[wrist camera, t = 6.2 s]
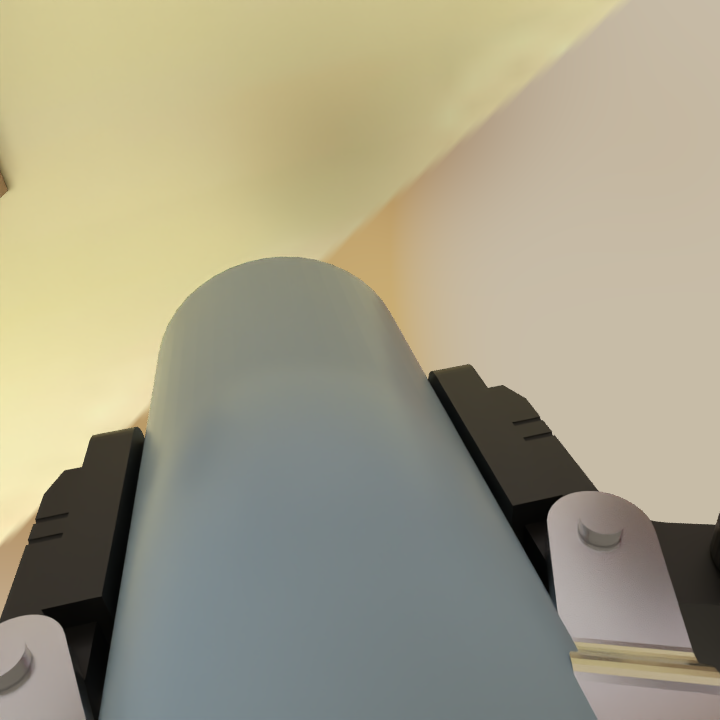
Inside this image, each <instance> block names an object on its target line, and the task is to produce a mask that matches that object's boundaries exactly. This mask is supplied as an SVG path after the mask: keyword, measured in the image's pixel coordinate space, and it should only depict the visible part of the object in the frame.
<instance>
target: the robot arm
mask: <svg viewBox="0 0 720 720" xmlns="http://www.w3.org/2000/svg"><path fill="white" fill-rule="evenodd" d="M428 381H429V382H430V384H431V386H432V388H433V389H434V391H435V393H436V395H437V397H438V398H439V400H440V402H441V404H442V405H443V407H444V409H445V411H446V413H447V414H448V416H449V418H450V420H451V421H452V423H453V425H454V427H455V428H456V430H457V432H458V434H459V436H460V437H461V439H462V441H463V443H464V444H465V446H466V448H467V450H468V451H469V453H470V455H471V457H472V459H473V460H474V462H475V464H476V466H477V467H478V469H479V471H480V473H481V475H482V476H483V478H484V480H485V482H486V483H487V485H488V487H489V489H490V490H491V492H492V494H493V496H494V498H495V499H496V501H497V503H498V505H499V506H500V508H501V510H502V512H503V514H504V515H505V517H506V519H507V521H508V522H509V524H510V526H511V528H512V529H513V531H514V533H515V535H516V537H517V538H518V540H519V542H520V544H521V545H522V547H523V549H524V551H525V553H526V554H527V556H528V558H529V560H530V561H531V563H532V565H533V567H534V568H535V570H536V572H537V574H538V576H539V577H540V579H541V581H542V583H543V584H544V586H545V588H546V590H547V592H548V593H549V595H550V597H551V599H552V600H553V602H554V605H555V607H556V610H557V613H558V615H559V616H560V618H561V620H562V622H563V623H564V625H565V627H566V629H567V631H568V632H569V634H570V636H571V638H572V640H573V641H574V643H575V645H576V647H577V649H578V651H579V652H578V651H570V653H569V655H570V660H571V664H572V668H573V673H574V676H575V678H576V680H577V682H578V683H579V685H580V687H581V689H582V691H583V693H584V695H585V697H586V698H587V700H588V702H589V704H590V706H591V708H592V710H593V712H594V713H595V715H596V717H597V719H598V720H720V514H719V516H718V520H717V523H716V525H708V524H684V523H683V524H682V523H664V522H656V521H651V520H650V519H649V518H648V517H647V515H646V514H645V513H644V512H643V511H642V510H640V509H639V508H638V507H636V506H635V505H634V504H632V503H631V502H629V501H627V500H625V499H623V498H621V497H618V496H615V495H612V494H609V493H603V492H599V491H598V490H597V489H596V487H595V486H594V485H593V483H592V482H591V481H590V480H589V478H588V477H587V476H586V475H585V473H584V472H583V471H582V469H581V468H580V467H579V466H578V464H577V463H576V462H575V461H574V459H573V458H572V457H571V455H570V454H569V453H568V452H567V450H566V449H565V448H564V447H563V445H562V444H561V443H560V441H559V440H558V439H557V438H556V436H553V435H552V431H551V430H550V429H549V427H548V426H547V425H546V424H545V422H544V421H543V420H541V419H540V416H539V415H538V413H537V412H536V411H535V410H534V408H533V407H532V406H531V404H530V403H529V402H528V401H527V399H526V398H524V397H522V396H521V395H519V394H517V393H515V392H514V391H512V390H510V389H508V388H507V387H505V386H503V385H501V386H496V387H491V388H487V386H486V385H485V383H484V382H483V380H482V379H481V378H480V376H479V375H478V374H477V372H476V371H475V369H474V368H473V367H472V366H471V365H468V364H467V365H462V366H457V367H452V368H447V369H442V370H436V371H431V372H430V373H429V378H428ZM144 440H145V438H144V435H143V433H142V431H141V430H140V428H138V427H134V428H128V429H123V430H118V431H113V432H107V433H102V434H97V435H93V436H92V437H91V439H90V441H89V445H88V448H87V452H86V455H85V459H84V462H83V466H82V467H80V468H75V469H70V470H65V471H64V472H63V473H62V474H61V475H60V476H59V477H58V479H57V480H56V481H55V482H54V483H53V484H52V486H51V487H50V488H49V489H48V490H47V491H46V493H45V494H44V496H43V499H42V501H41V504H40V507H39V510H38V513H37V516H36V519H35V520H36V524H33V527H32V530H31V533H30V536H29V539H28V541H29V545H26V547H25V550H24V553H23V555H22V558H21V561H20V564H19V567H18V570H17V573H16V575H15V578H14V581H13V584H12V587H11V590H10V593H9V595H8V599H7V601H6V604H5V607H4V610H3V612H2V615H1V618H0V720H98V718H99V712H100V706H101V700H102V694H103V688H104V682H105V676H106V670H107V664H108V658H109V652H110V646H111V640H112V634H113V628H114V622H115V616H116V609H117V603H118V597H119V591H120V585H121V579H122V573H123V567H124V561H125V555H126V549H127V543H128V537H129V531H130V525H131V519H132V513H133V507H134V501H135V495H136V489H137V483H138V477H139V471H140V465H141V459H142V452H143V446H144Z"/></svg>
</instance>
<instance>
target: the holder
mask: <svg viewBox="0 0 720 720" xmlns="http://www.w3.org/2000/svg"><path fill="white" fill-rule="evenodd" d="M7 191H8V190H7V187H6V184H5V182H4V179H3V177H2V174H1V172H0V197H2V196H3V195H4V194H5V193H6V192H7Z"/></svg>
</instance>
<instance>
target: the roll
mask: <svg viewBox="0 0 720 720" xmlns="http://www.w3.org/2000/svg"><path fill="white" fill-rule="evenodd" d="M570 651H578V649H577V647H576V645H575V643H574V641H573V640H572V638H571V636H570V634H569V632H568V631H567V629H566V627H565V625H564V623H563V622H562V620H561V618H560V616H559V615H558V613H557V610H556V607H555V605H554V602H553V600H552V599H551V597H550V595H549V593H548V592H547V590H546V588H545V586H544V584H543V583H542V581H541V579H540V577H539V576H538V574H537V572H536V570H535V568H534V567H533V565H532V563H531V561H530V560H529V558H528V556H527V554H526V553H525V551H524V549H523V547H522V545H521V544H520V542H519V540H518V538H517V537H516V535H515V533H514V531H513V529H512V528H511V526H510V524H509V522H508V521H507V519H506V517H505V515H504V514H503V512H502V510H501V508H500V506H499V505H498V503H497V501H496V499H495V498H494V496H493V494H492V492H491V490H490V489H489V487H488V485H487V483H486V482H485V480H484V478H483V476H482V475H481V473H480V471H479V469H478V467H477V466H476V464H475V462H474V460H473V459H472V457H471V455H470V453H469V451H468V450H467V448H466V446H465V444H464V443H463V441H462V439H461V437H460V436H459V434H458V432H457V430H456V428H455V427H454V425H453V423H452V421H451V420H450V418H449V416H448V414H447V413H446V411H445V409H444V407H443V405H442V404H441V402H440V400H439V398H438V397H437V395H436V393H435V391H434V389H433V388H432V386H431V384H430V382H429V381H428V379H427V377H426V375H425V374H424V372H423V370H422V368H421V366H420V365H419V363H418V361H417V360H416V358H415V356H414V354H413V353H412V350H411V349H410V347H409V345H408V343H407V342H406V340H405V338H404V336H403V335H402V333H401V331H400V329H399V327H398V326H397V324H396V322H395V320H394V319H393V317H392V315H391V313H390V311H389V310H388V308H387V307H386V306H385V304H384V303H383V301H382V300H381V299H380V297H379V296H378V295H377V294H376V293H375V292H374V291H373V290H372V289H371V288H370V287H369V286H368V285H366V284H365V283H364V282H363V281H361V280H360V279H359V278H357V277H355V276H354V275H352V274H350V273H349V272H347V271H345V270H343V269H341V268H338V267H336V266H334V265H331V264H328V263H324V262H321V261H318V260H313V259H306V258H300V257H275V258H265V259H260V260H255V261H251V262H246V263H243V264H241V265H238V266H235V267H232V268H230V269H228V270H226V271H224V272H222V273H220V274H218V275H216V276H214V277H213V278H211V279H210V280H208V281H207V282H205V283H204V284H202V285H201V286H200V287H198V288H197V289H196V290H195V291H194V292H193V293H192V294H191V295H190V296H189V297H187V299H186V300H185V301H184V302H183V303H182V305H181V306H180V307H179V308H178V309H177V311H176V313H175V314H174V316H173V317H172V319H171V321H170V322H169V324H168V326H167V329H166V331H165V334H164V336H163V339H162V343H161V347H160V351H159V356H158V362H157V368H156V374H155V380H154V386H153V392H152V398H151V404H150V410H149V416H148V423H147V429H146V435H145V440H144V446H143V452H142V459H141V465H140V471H139V477H138V483H137V489H136V495H135V501H134V507H133V513H132V519H131V525H130V531H129V537H128V543H127V549H126V555H125V561H124V567H123V573H122V579H121V585H120V591H119V597H118V603H117V609H116V616H115V622H114V628H113V634H112V640H111V646H110V652H109V658H108V664H107V670H106V676H105V682H104V688H103V694H102V700H101V706H100V712H99V718H98V720H598V719H597V717H596V715H595V713H594V712H593V710H592V708H591V706H590V704H589V702H588V700H587V698H586V697H585V695H584V693H583V691H582V689H581V687H580V685H579V683H578V682H577V680H576V678H575V676H574V673H573V668H572V664H571V660H570V655H569V653H570ZM578 652H579V651H578Z"/></svg>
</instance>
